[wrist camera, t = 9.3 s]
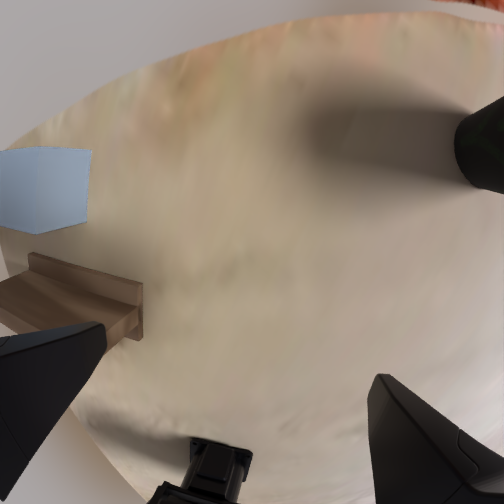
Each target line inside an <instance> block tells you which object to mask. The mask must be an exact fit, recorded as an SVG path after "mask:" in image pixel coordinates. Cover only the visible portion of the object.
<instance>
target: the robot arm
mask: <svg viewBox="0 0 504 504" xmlns="http://www.w3.org/2000/svg"><path fill="white" fill-rule="evenodd" d="M107 346H108V343H107V335H106V328H105V325H104V324H103V323H100V322H97V321H89V322H84V323H79V324H74V325H69V326H63V327H58V328H52V329H47V330H41V331H36V332H30V333H24V334H18V335H13V336H11V337H10V336H6V337H0V500H1V501H5V499H6V498H7V496H8V495H9V493H10V491H11V490H12V488H13V487H14V485H15V484H16V482H17V480H18V479H19V477H20V476H21V474H22V473H23V471H24V470H25V468H26V467H27V465H28V463H29V461H30V460H31V459H32V457H33V456H34V454H35V453H36V452H37V450H38V449H39V447H40V446H41V444H42V443H43V441H44V440H45V438H46V437H47V436H48V434H49V433H50V431H51V430H52V429H53V427H54V426H55V424H56V423H57V422H58V420H59V419H60V417H61V416H62V415H63V413H64V412H65V411H66V409H67V408H68V407H69V405H70V404H71V402H72V401H73V400H74V398H75V397H76V396H77V394H78V393H79V392H80V390H81V389H82V388H83V386H84V385H85V384H86V382H87V381H88V379H89V378H90V376H91V375H92V373H93V371H94V370H95V368H96V366H97V365H98V363H99V361H100V360H101V358H102V357H103V355H104V353H105V352H106V350H107ZM367 404H368V436H369V447H370V454H371V462H372V470H373V479H374V488H375V499H376V504H504V457H502V456H500V455H499V454H497V453H495V452H494V451H492V450H490V449H489V448H487V447H486V446H484V445H482V444H481V443H479V442H478V441H477V440H475V439H474V438H472V437H471V436H470V435H468V434H467V433H466V432H464V431H463V430H462V429H459V427H458V426H456V425H455V424H454V423H452V422H451V421H450V420H448V419H447V418H446V417H444V416H443V415H442V414H441V413H439V412H438V411H437V410H435V409H434V408H433V407H431V406H430V405H429V404H428V403H426V402H425V401H424V400H422V399H421V398H420V397H418V396H417V395H416V394H415V393H413V392H412V391H411V390H409V389H408V388H407V387H405V386H404V385H403V384H402V383H400V382H399V381H398V380H396V379H395V378H394V377H393V376H391V375H390V374H377V375H376V376H375V379H374V381H373V384H372V386H371V389H370V391H369V394H368V398H367ZM252 457H253V453H252V452H250V451H246V450H241V449H236V448H232V447H227V446H223V445H219V444H215V443H211V442H207V441H203V440H200V439H196V438H192V439H191V442H190V465H189V468H188V470H187V472H186V475H185V477H184V479H183V482H182V484H181V486H180V487H178V486H175V485H173V484H170V483H169V482H167V481H164V482H163V484H162V485H161V486H158V487H157V489H156V491H155V493H154V495H153V497H152V498H151V499H150V500H149V501H148V502H147V504H239V503H237V499H238V496H239V492H240V488H241V484H242V482H245V481H246V478H247V474H248V471H249V467H250V464H251V460H252Z"/></svg>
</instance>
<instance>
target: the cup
mask: <svg viewBox="0 0 504 504" xmlns="http://www.w3.org/2000/svg"><path fill="white" fill-rule="evenodd" d="M454 148H455V155H456V159H457V163H458V165H459V167H460V169H461V171H462V173H463V174H464V176H465V177H466V178H467V179H468V180H469V181H470V183H471V184H473V185H475V186H476V187H478V188H482V189H486V190H490V191H493V192H497V193H501V194H504V96H503V97H501V98H500V99H498V100H496V101H495V102H493V103H491V104H489V105H488V106H486V107H484V108H482V109H481V110H479V111H477V112H475V113H474V114H472V115H470V116H469V117H467V118H465V119H464V120H463V121H462V122H461V123H460V124H459V126H458V127H457V130H456V133H455V140H454Z"/></svg>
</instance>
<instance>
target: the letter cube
mask: <svg viewBox="0 0 504 504" xmlns="http://www.w3.org/2000/svg"><path fill="white" fill-rule="evenodd" d="M91 151H92V150H86V149H74V148H60V147H43V146H38V147H29V148H20V149H12V150H5V151H0V226H2V227H6V228H10V229H14V230H18V231H22V232H26V233H31V234H35V235H37V234H41V233H45V232H49V231H52V230H56V229H60V228H64V227H68V226H72V225H76V224H81V223H85V222H87V199H88V183H89V171H90V160H91Z"/></svg>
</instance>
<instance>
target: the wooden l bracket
mask: <svg viewBox="0 0 504 504" xmlns="http://www.w3.org/2000/svg"><path fill="white" fill-rule="evenodd" d="M28 263H29V270H28V271H26V272H23V273H21V274H18V275H16V276H13V277H11V278H8V279H6V280H4V281H1V282H0V322H1V323H2V324H4V325H5V326H7V327H8V328H10V329H11V330H13V331H15V332H16V333H18V334H24V333H30V332H36V331H41V330H47V329H52V328H58V327H63V326H69V325H74V324H79V323H84V322H89V321H97V322H100V323H103V324H104V325H105V328H106V335H107V343H108V346H107V350H106V352H105V353H104V355H105V354H106V353H107V352H108V351H109V350H110V349H111V348H112V347H113V346H114V345H116V344H117V343H118V342H119V341H120V340H121V339H122V338H123V337H127V338H130V339H133V340H136V341H140V340H141V339H142V338H143V311H142V283H140V282H136V281H132V280H128V279H124V278H120V277H116V276H113V275H109V274H105V273H102V272H98V271H94V270H91V269H87V268H84V267H80V266H77V265H73V264H70V263H66V262H63V261H60V260H56V259H53V258H50V257H47V256H43V255H40V254H37V253H34V252H32V253H29V254H28Z"/></svg>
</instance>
